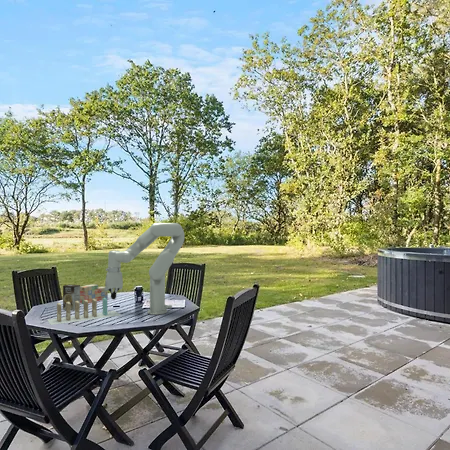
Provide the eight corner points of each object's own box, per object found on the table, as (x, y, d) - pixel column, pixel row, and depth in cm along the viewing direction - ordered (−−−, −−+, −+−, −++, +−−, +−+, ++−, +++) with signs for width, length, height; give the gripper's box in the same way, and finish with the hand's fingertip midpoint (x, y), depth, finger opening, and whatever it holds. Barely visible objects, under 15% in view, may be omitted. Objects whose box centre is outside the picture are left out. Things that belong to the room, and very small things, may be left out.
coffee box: (62, 309, 242) (62, 285, 242) (69, 307, 248) (69, 284, 248) (73, 310, 239) (73, 286, 239) (80, 308, 245) (80, 284, 245)
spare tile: (105, 313, 229) (105, 297, 229) (107, 315, 225) (107, 299, 225) (102, 313, 228) (102, 298, 228) (104, 315, 224) (104, 299, 224)
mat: (114, 311, 237) (114, 310, 237) (121, 315, 225) (121, 315, 225) (47, 320, 214) (47, 319, 214) (50, 325, 203) (50, 324, 203)
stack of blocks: (102, 298, 281) (102, 282, 281) (107, 299, 278) (107, 283, 278) (78, 303, 262) (78, 286, 262) (84, 304, 259) (84, 287, 259)
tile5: (68, 318, 217) (68, 301, 217) (70, 320, 213) (70, 303, 213) (66, 318, 216) (66, 302, 216) (67, 320, 212) (67, 303, 212)
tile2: (94, 315, 225) (94, 298, 225) (96, 316, 221) (96, 300, 221) (92, 315, 224) (91, 299, 224) (94, 317, 220) (94, 300, 220)
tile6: (59, 319, 214) (59, 302, 214) (61, 321, 210) (61, 304, 210) (56, 320, 213) (56, 303, 213) (58, 321, 209) (58, 304, 209)
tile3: (86, 316, 222) (86, 299, 222) (88, 317, 218) (88, 301, 218) (83, 316, 222) (83, 300, 222) (85, 318, 217) (85, 301, 217)
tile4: (77, 317, 220) (77, 300, 220) (79, 319, 215) (79, 302, 216) (74, 317, 219) (74, 301, 219) (76, 319, 215) (76, 302, 215)
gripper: (103, 271, 222) (103, 301, 222) (127, 270, 231) (127, 298, 231) (100, 269, 229) (99, 298, 229) (123, 268, 237) (123, 296, 237)
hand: (113, 298), depth 230 cm, fingers closed
